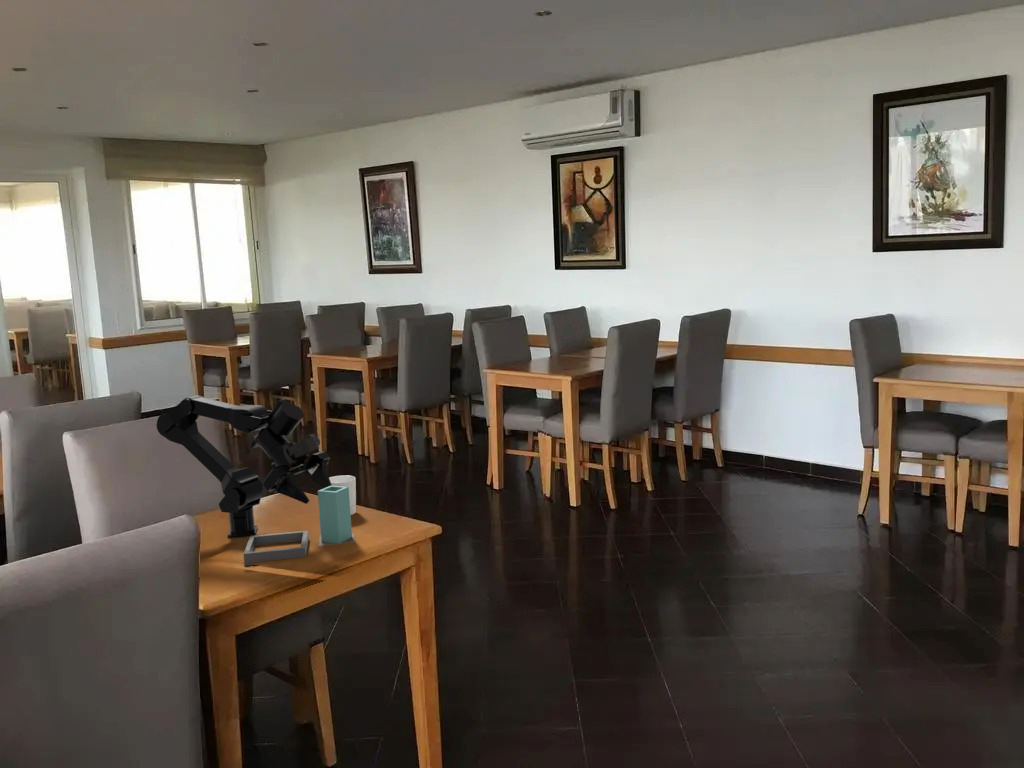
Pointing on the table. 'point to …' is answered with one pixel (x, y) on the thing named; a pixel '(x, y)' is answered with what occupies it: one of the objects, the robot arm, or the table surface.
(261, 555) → the tray
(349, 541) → the grey plate with post
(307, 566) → the table surface
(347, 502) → the sleeve
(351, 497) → the white cup
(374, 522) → the table surface
